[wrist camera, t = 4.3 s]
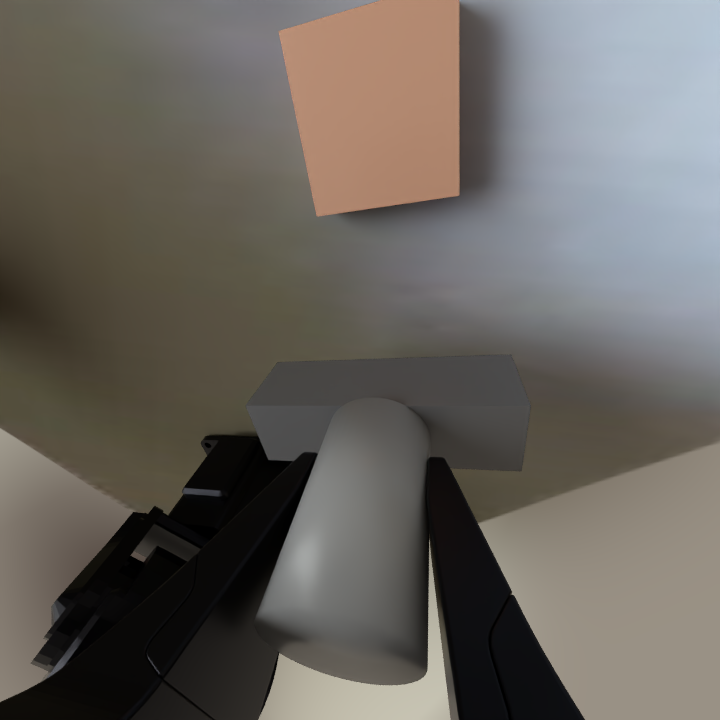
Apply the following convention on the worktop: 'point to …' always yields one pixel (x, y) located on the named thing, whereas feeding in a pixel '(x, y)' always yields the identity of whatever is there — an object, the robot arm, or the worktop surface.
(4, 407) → the worktop surface
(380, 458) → the pusher
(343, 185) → the tile
